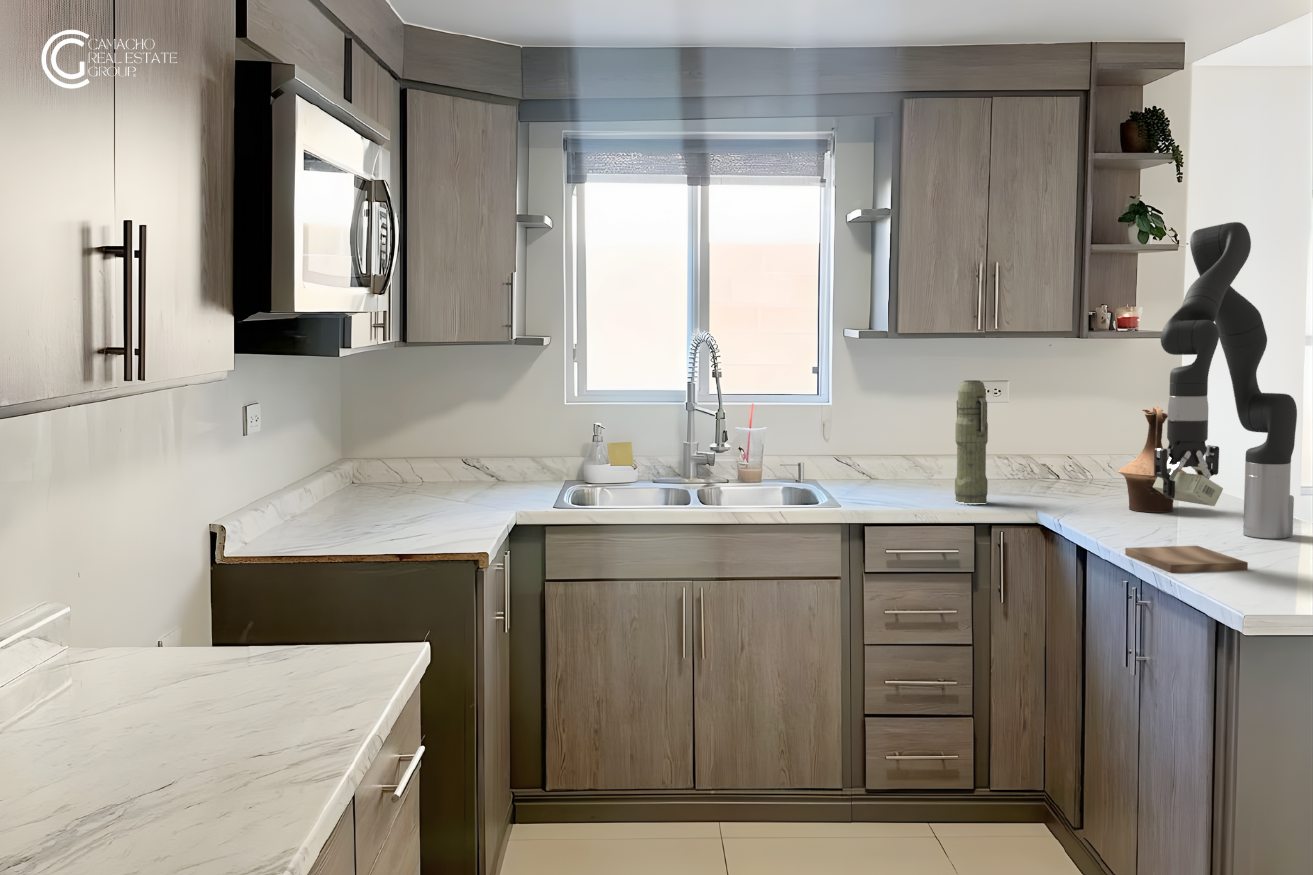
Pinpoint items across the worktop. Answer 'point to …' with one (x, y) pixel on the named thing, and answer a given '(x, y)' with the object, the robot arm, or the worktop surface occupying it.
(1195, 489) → the skincare box
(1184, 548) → the walnut board
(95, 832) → the worktop surface
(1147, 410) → the pitcher
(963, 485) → the thermos
